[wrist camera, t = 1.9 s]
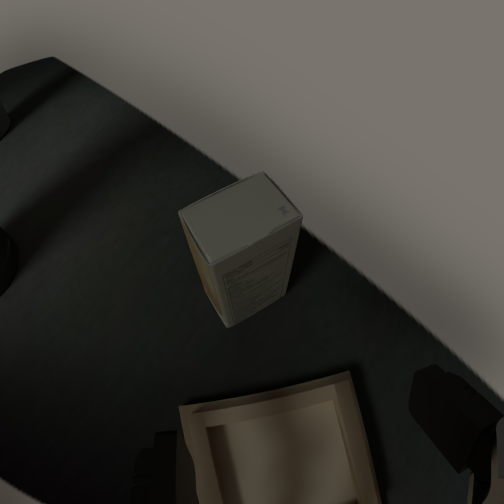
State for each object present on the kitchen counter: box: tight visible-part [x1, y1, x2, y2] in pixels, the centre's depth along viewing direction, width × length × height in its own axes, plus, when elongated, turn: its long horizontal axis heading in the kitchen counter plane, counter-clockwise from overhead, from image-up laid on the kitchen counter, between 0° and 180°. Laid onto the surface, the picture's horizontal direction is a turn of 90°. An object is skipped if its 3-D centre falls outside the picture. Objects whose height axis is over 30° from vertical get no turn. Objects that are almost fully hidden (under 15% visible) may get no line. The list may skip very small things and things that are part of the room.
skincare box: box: [178, 171, 303, 328], centre depth 23 cm, size 6×4×12 cm
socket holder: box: [179, 371, 382, 504], centre depth 20 cm, size 14×14×2 cm
